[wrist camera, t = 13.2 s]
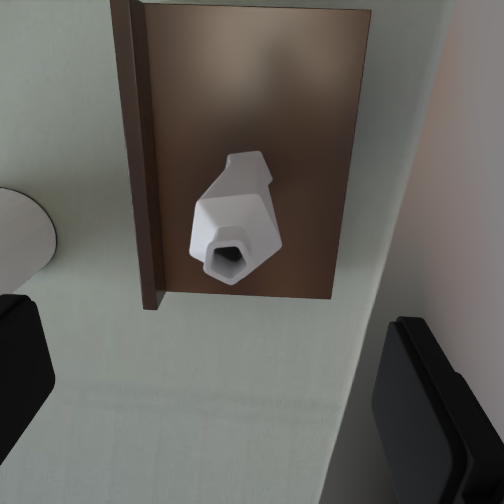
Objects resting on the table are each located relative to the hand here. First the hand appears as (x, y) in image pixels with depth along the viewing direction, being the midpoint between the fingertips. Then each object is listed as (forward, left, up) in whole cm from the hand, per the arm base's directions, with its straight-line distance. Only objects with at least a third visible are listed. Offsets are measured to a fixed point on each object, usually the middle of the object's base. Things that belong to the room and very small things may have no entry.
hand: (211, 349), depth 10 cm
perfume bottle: (0, 0, -21) cm, 21 cm away
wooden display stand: (0, 0, -27) cm, 27 cm away
